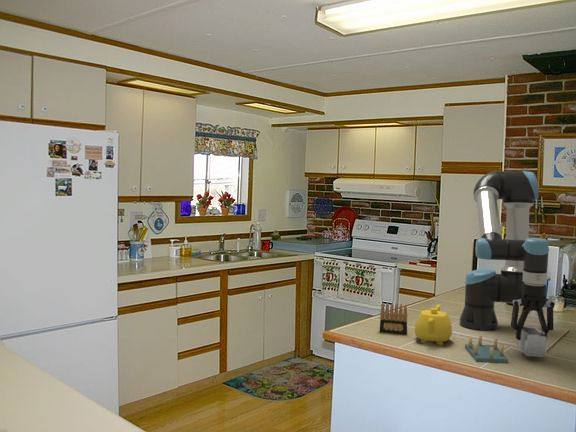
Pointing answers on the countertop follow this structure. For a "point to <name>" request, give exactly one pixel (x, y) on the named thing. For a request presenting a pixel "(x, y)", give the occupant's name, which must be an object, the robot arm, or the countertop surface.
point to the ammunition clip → (393, 320)
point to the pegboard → (486, 351)
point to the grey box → (533, 342)
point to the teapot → (433, 326)
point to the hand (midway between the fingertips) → (530, 349)
